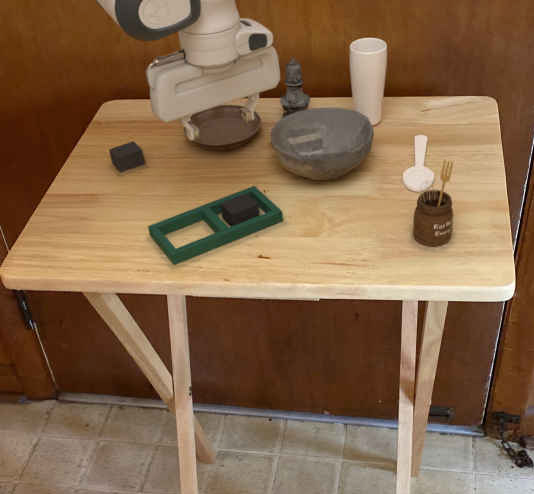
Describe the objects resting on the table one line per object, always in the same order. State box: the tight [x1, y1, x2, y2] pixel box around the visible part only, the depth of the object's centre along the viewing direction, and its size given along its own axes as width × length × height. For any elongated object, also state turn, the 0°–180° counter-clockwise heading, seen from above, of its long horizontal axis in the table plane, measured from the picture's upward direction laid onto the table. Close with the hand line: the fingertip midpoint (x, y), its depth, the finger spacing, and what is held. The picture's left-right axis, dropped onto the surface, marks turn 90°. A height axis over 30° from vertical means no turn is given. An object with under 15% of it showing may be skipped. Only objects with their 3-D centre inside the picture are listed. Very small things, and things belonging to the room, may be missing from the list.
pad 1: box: [108, 140, 146, 174], centre depth 150 cm, size 5×4×3 cm
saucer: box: [183, 104, 262, 151], centre depth 155 cm, size 15×15×3 cm
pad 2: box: [221, 193, 260, 227], centre depth 134 cm, size 5×4×3 cm
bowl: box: [269, 106, 375, 181], centre depth 142 cm, size 18×18×8 cm
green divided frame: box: [147, 185, 284, 266], centre depth 133 cm, size 20×9×2 cm, turn 120°
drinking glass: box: [348, 37, 388, 127], centre depth 151 cm, size 7×7×15 cm
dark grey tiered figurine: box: [279, 57, 311, 118], centre depth 155 cm, size 6×6×12 cm
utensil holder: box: [412, 159, 454, 247], centre depth 124 cm, size 6×6×12 cm
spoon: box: [402, 134, 435, 193], centre depth 143 cm, size 5×18×1 cm, turn 170°
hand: (221, 128), depth 125 cm, fingers open, 8 cm apart
